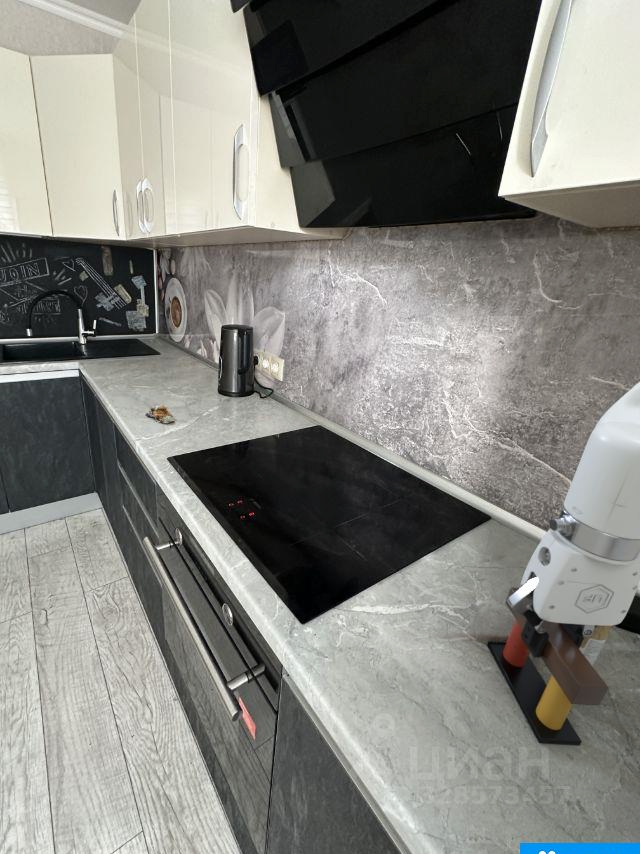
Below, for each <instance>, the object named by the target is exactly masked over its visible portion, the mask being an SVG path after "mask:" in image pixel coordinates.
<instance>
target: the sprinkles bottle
mask: <svg viewBox="0 0 640 854" xmlns="http://www.w3.org/2000/svg"><path fill="white" fill-rule="evenodd" d="M613 626H614V625H612V626H600V625H599V626H597V627H595V628H594V631H593V633H592V635H590V636H583V637H584V640H583V642H582V644H581V646H580V648H579V650H580V651H581V652H582V653H583V655H584V656H585V657H586V659H587V660H588V661H589V663H590V664H591V665H592V666H594V664H595V662H596V660H597V658H598V657H599V654H600V652H601V650H602V648H603V647H604V645H605V643H606V641H607V639H608V636H609V633H610V632H611V630H612V628H613Z"/></svg>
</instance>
